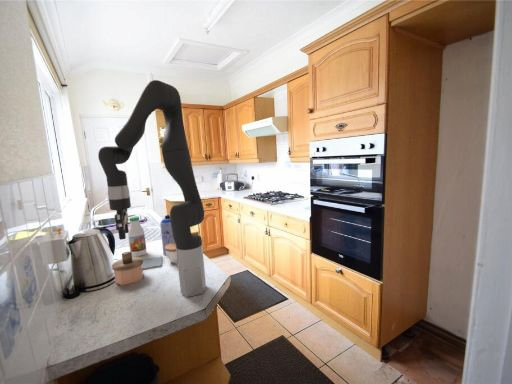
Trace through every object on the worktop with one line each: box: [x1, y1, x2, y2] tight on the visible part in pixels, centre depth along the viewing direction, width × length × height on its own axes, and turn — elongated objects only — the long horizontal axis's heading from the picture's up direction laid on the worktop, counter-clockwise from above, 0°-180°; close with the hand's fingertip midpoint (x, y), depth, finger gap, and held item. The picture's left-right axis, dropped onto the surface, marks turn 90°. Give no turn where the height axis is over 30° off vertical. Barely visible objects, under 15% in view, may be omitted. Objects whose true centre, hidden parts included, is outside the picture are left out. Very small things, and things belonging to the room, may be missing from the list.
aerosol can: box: [159, 214, 175, 257], centre depth 132 cm, size 8×8×20 cm
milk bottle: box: [127, 215, 147, 257], centre depth 132 cm, size 8×8×20 cm
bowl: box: [113, 264, 144, 286], centre depth 107 cm, size 10×10×6 cm
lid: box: [111, 251, 144, 271], centre depth 106 cm, size 12×12×5 cm
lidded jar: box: [165, 242, 178, 264], centre depth 123 cm, size 11×11×9 cm
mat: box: [142, 255, 163, 271], centre depth 121 cm, size 11×11×1 cm
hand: (124, 235), depth 105 cm, fingers open, 8 cm apart
